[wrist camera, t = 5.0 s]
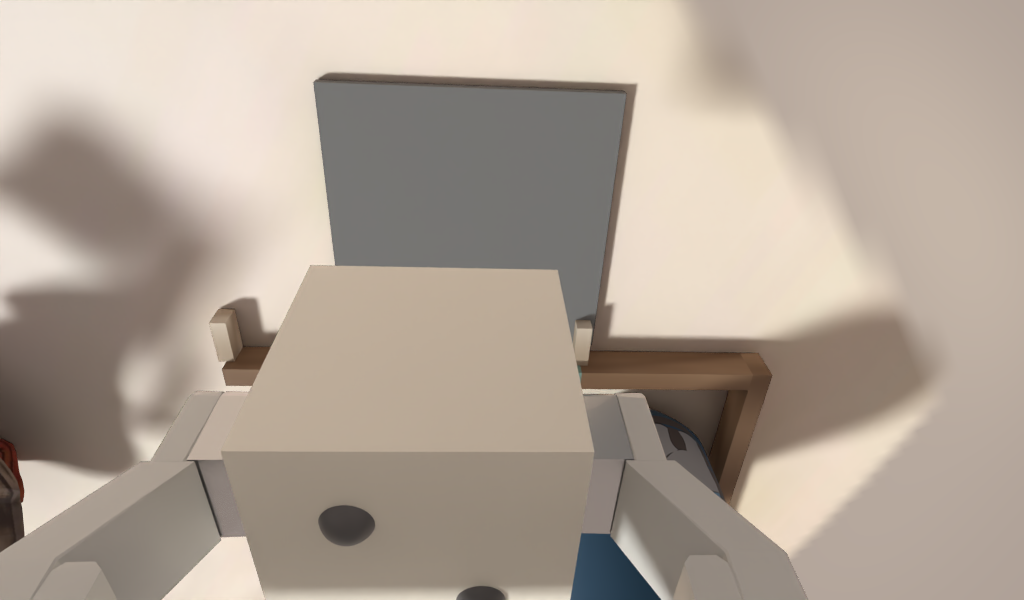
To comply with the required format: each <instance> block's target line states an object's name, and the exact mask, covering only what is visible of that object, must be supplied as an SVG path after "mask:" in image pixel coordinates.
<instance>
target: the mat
mask: <svg viewBox="0 0 1024 600" xmlns="http://www.w3.org/2000/svg"><path fill="white" fill-rule="evenodd" d="M314 91H315V99H316V107H317V116H318V124H319V133H320V141H321V150H322V158H323V166H324V175H325V183H326V192H327V200H328V209H329V217H330V225H331V234H332V242H333V251H334V259H335V266H380V267H434V268H487V269H541V270H558V274H559V279H560V284H561V289H562V294H563V299H564V304H565V309H566V314H567V319H568V323H569V328H570V333H571V338H572V343H573V336H574V328H575V320H590V321H591V325H592V328H593V329H592V337H591V344H590V345H592V340H593V333H594V326H595V319H596V311H597V304H598V297H599V290H600V282H601V275H602V268H603V261H604V253H605V246H606V239H607V232H608V224H609V217H610V210H611V203H612V195H613V188H614V181H615V174H616V166H617V159H618V152H619V145H620V137H621V130H622V123H623V116H624V108H625V101H626V93H625V92H624V91H609V90H583V89H556V88H530V87H503V86H476V85H450V84H423V83H396V82H370V81H343V80H315V81H314Z"/></svg>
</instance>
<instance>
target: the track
mask: <svg viewBox="0 0 1024 600" xmlns="http://www.w3.org/2000/svg"><path fill="white" fill-rule="evenodd" d="M209 325H210V329H211V333H212V337H213V341H214V344H215V348H216V352H217V356H218V360H219V361H227V362H226V363H225V365H224V367H223V368H222V371H223V375H224V379H225V383H226V386H252V385H253V383H254V381H255V379H256V377H257V375H258V373H259V371H260V369H261V367H262V364H263V362H264V360H265V358H266V356H267V354H268V352H269V350H270V348H271V347H243V345H242V340H241V336H240V331H239V327H238V322H237V318H236V313H235V309H218V311H217V312H216V314H215V315H214V317H213V318H212V320H211V321H210V323H209ZM592 329H593V328H592V325H591V321H590V320H575V328H574V336H573V348H574V353H575V358H576V363H577V368H578V373H579V378H580V383H581V388H582V389H660V390H729V392H728V395H727V399H726V402H725V405H724V409H723V412H722V416H721V419H720V422H719V426H718V429H717V433H716V436H715V439H714V443H713V446H712V450H711V453H710V456H709V462H710V465H711V467H712V469H713V472H714V474H715V476H716V479H717V481H718V484H719V486H720V488H721V491H722V493H723V496H724V498H725V500H726V503H727V504H728V505H729V503H730V500H731V497H732V494H733V491H734V488H735V485H736V482H737V479H738V476H739V473H740V470H741V467H742V464H743V461H744V458H745V455H746V452H747V449H748V446H749V443H750V440H751V437H752V434H753V431H754V428H755V425H756V422H757V419H758V416H759V413H760V410H761V408H762V405H763V402H764V399H765V396H766V393H767V390H768V387H769V384H770V381H771V378H772V374H771V372H770V371H769V369H768V368H767V366H766V365H765V363H764V361H763V360H762V358H761V357H760V355H759V354H758V353H702V352H623V351H590V344H591V337H592Z"/></svg>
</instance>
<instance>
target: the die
mask: <svg viewBox="0 0 1024 600" xmlns="http://www.w3.org/2000/svg"><path fill="white" fill-rule="evenodd" d="M221 455H222V458H223V461H224V465H225V468H226V471H227V474H228V478H229V481H230V484H231V488H232V491H233V494H234V498H235V501H236V504H237V508H238V511H239V514H240V518H241V521H242V524H243V528H244V531H245V534H246V537H247V541H248V544H249V547H250V551H251V554H252V557H253V561H254V564H255V567H256V571H257V574H258V577H259V581H260V584H261V587H262V590H263V594H264V597H265V600H570V598H571V592H572V586H573V580H574V574H575V568H576V562H577V556H578V549H579V543H580V537H581V531H582V525H583V519H584V513H585V507H586V501H587V495H588V488H589V482H590V476H591V470H592V464H593V458H594V447H593V442H592V437H591V432H590V428H589V423H588V418H587V413H586V408H585V403H584V398H583V393H582V388H581V383H580V378H579V373H578V368H577V363H576V358H575V353H574V348H573V343H572V338H571V333H570V328H569V323H568V319H567V314H566V309H565V304H564V299H563V294H562V289H561V284H560V279H559V274H558V270H541V269H487V268H434V267H380V266H327V265H310V267H309V269H308V271H307V273H306V275H305V278H304V280H303V282H302V284H301V286H300V288H299V290H298V292H297V294H296V296H295V298H294V300H293V302H292V304H291V307H290V309H289V311H288V313H287V315H286V317H285V319H284V321H283V323H282V325H281V327H280V329H279V331H278V333H277V336H276V338H275V340H274V342H273V344H272V346H271V348H270V350H269V352H268V354H267V356H266V358H265V360H264V362H263V364H262V367H261V369H260V371H259V373H258V375H257V377H256V379H255V381H254V383H253V385H252V387H251V389H250V391H249V393H248V396H247V398H246V400H245V402H244V404H243V406H242V408H241V410H240V412H239V414H238V416H237V418H236V420H235V422H234V425H233V427H232V429H231V431H230V433H229V435H228V437H227V439H226V441H225V443H224V445H223V447H222V449H221Z"/></svg>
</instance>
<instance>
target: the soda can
mask: <svg viewBox="0 0 1024 600" xmlns="http://www.w3.org/2000/svg"><path fill="white" fill-rule="evenodd" d="M649 409H650V408H649ZM650 412H651V415H652V418H653V421H654V424H655V427H656V430H657V433H658V436H659V439H660V442H661V444H662V447H663V450H664V453H665V456H666V459H667V460H675V461H676V462H678V463H679V464H680V465H681V466H682V467H684V468H685V469H686V470H687V471H688V472H690V473H691V474H692V475H693V476H694V477H696V478H697V479H698V480H699V481H701V482H702V483H703V484H704V485H705V486H707V487H708V488H709V489H710V490H711V491H713V492H714V493H715V494H716V495H717V496H719V497H720V498H721V499H722V500H723V501H725V502H726V500H725V498H724V496H723V493H722V491H721V488H720V486H719V484H718V481H717V479H716V476H715V474H714V472H713V469H712V467H711V465H710V462H709V460H708V457H707V455H706V453H705V450H704V448H703V446H702V444H701V442H700V440H699V439H698V438H697V436H696V435H695V434H694V433H693V432H692V431H691V430H690V429H688V428H687V427H686V426H684V425H683V424H681V423H680V422H678V421H676V420H675V419H673V418H671V417H669V416H667V415H665V414H663V413H661V412H658V411H656V410H653V409H650ZM570 600H661V598H660V597H659V596H658V595H657V593H656V592H655V591H654V590H653V589H652V587H651V586H650V585H649V584H648V582H647V581H646V580H645V579H644V577H643V576H642V575H641V574H640V572H639V571H638V570H637V569H636V567H635V566H634V565H633V564H632V562H631V561H630V560H629V559H628V557H627V556H626V555H625V554H624V552H623V551H622V550H621V549H620V547H619V546H618V545H617V544H616V542H615V541H614V540H613V539H612V537H611V534H597V533H581V537H580V543H579V549H578V556H577V562H576V568H575V574H574V580H573V586H572V592H571V598H570Z"/></svg>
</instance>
